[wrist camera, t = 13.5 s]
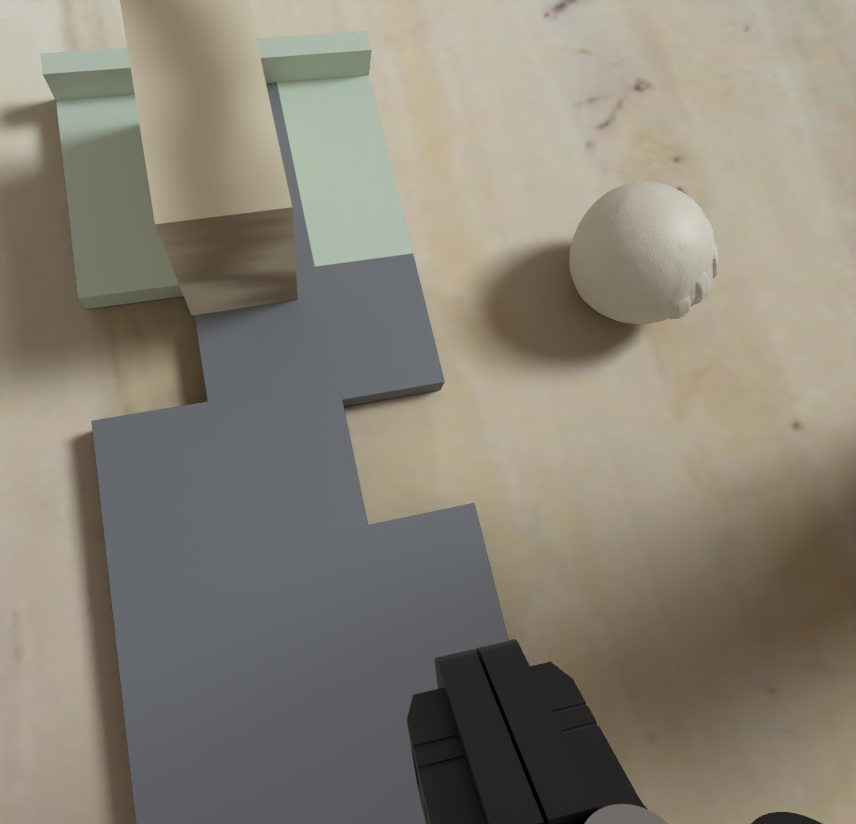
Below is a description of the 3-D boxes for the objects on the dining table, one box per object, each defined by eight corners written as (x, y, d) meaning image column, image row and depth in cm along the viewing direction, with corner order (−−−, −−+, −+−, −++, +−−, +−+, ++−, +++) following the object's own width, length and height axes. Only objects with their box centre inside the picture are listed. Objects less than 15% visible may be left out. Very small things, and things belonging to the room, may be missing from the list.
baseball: (653, 369, 38) (721, 317, 32) (533, 303, 38) (576, 237, 32) (697, 272, 40) (769, 205, 34) (583, 209, 40) (633, 130, 34)
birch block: (258, 110, 37) (243, -22, 30) (297, 299, 35) (292, 207, 27) (159, 119, 36) (117, -14, 29) (191, 315, 34) (155, 224, 26)
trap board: (363, 73, 41) (366, 31, 38) (553, 851, 30) (577, 874, 28) (61, 97, 37) (40, 53, 35) (161, 978, 27) (143, 1018, 24)
